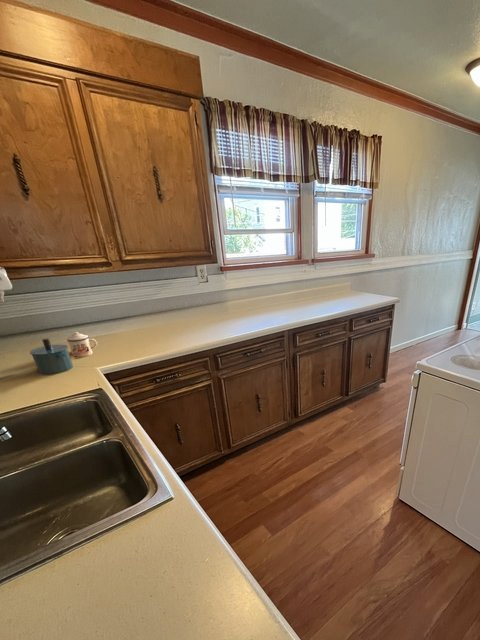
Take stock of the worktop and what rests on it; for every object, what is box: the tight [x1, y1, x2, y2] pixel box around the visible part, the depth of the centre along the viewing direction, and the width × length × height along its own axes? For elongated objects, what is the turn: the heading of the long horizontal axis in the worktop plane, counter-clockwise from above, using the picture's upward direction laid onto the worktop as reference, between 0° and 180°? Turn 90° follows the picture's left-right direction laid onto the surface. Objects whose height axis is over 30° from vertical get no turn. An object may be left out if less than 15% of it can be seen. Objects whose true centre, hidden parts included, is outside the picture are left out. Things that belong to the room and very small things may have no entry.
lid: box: [29, 337, 69, 356], centre depth 141 cm, size 14×14×6 cm
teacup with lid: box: [66, 331, 98, 358], centre depth 163 cm, size 12×9×12 cm
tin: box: [31, 349, 74, 376], centre depth 144 cm, size 13×18×10 cm
